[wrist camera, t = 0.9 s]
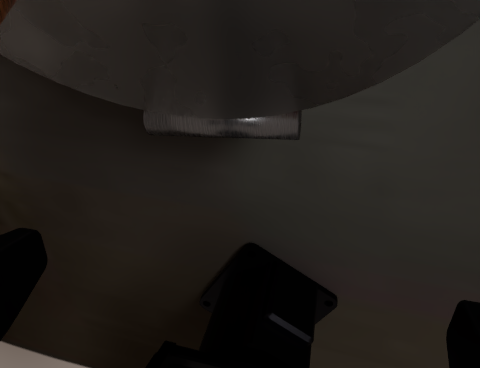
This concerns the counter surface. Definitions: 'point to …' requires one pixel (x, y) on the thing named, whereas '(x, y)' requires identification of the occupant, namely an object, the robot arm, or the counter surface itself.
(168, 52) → the lid
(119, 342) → the counter surface
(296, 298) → the robot arm
